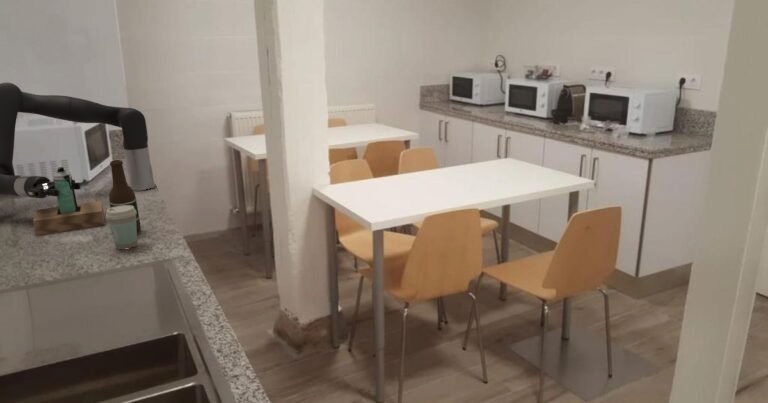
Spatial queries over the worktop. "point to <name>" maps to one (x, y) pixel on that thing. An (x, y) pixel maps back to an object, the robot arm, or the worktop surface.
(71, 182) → the spray can
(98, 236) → the worktop surface
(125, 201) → the beer bottle
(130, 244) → the coffee cup
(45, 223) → the block
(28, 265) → the worktop surface
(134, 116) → the robot arm
